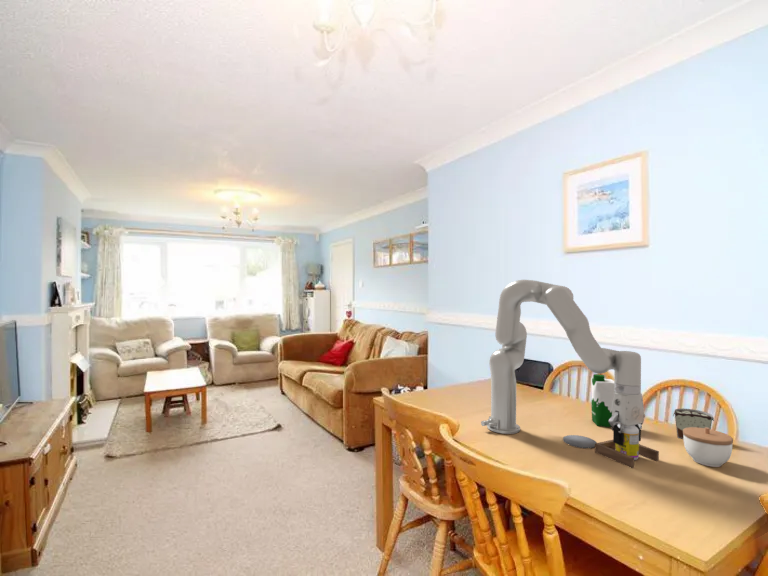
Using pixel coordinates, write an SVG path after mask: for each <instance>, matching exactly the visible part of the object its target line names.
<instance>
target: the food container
mask: <svg viewBox="0 0 768 576" xmlns="http://www.w3.org/2000/svg"><path fill="white" fill-rule="evenodd" d="M672 417H674V419H675V429H676V436H677V438H678V439H682V440H683V429H684V428H689V427H698V428H705V427H707V428H710V429H711V430H712V422H715V417H714V416H713V414H711V413H709V412H706V411H703V410H698V409H693V408H691V409H690V408H675V409H674V410H673V413H672Z"/></svg>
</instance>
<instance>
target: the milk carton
mask: <svg viewBox="0 0 768 576" xmlns="http://www.w3.org/2000/svg"><path fill="white" fill-rule="evenodd" d="M590 380H591V384H590V385H591V421H592V422H593V424H594V425H596V426H597V427H603V428H604V427H605V428H611V425H610V423H609V419H610V418H611V417H612V406H613V398H614V393H615V392H614V379H611V378H605V375H603V374H598V373H594V374H593V377H591V379H590Z"/></svg>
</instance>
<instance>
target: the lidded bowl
mask: <svg viewBox="0 0 768 576" xmlns="http://www.w3.org/2000/svg"><path fill="white" fill-rule="evenodd" d="M682 440H683V446H684V449H685V451H686V453H687V454H688V455H689V457H690V458H692V461H694V462H695V463H697V464H700V465H703V466H706V467H713V468H720V467H722V466H723V464H725V463H727V462H728V461H729V460H730V459H731V456H732V453H733V443H734V438H733V437H732V436H730V435H729V434H727V433H724V432H721V431H718V430H716V429H712V428H711V429H710V428H707V427H705V428H698V427H689V428H684V429H683V439H682Z"/></svg>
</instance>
